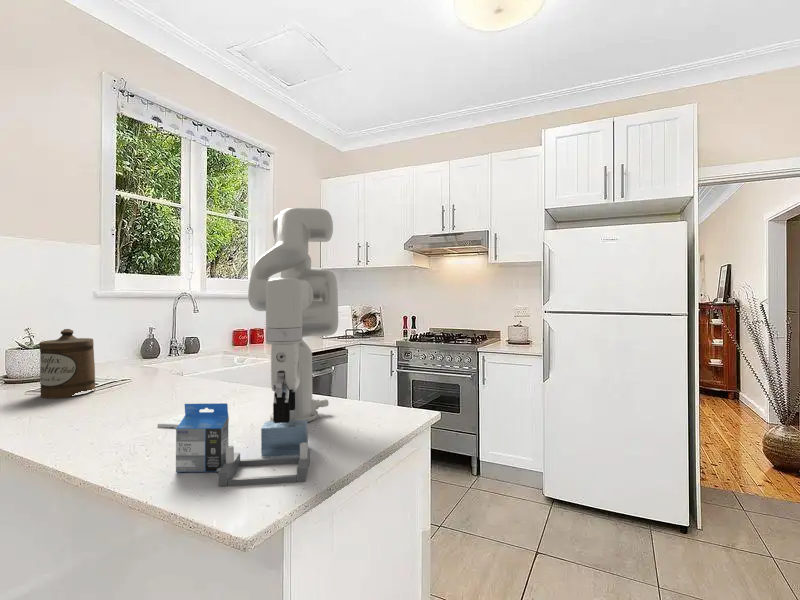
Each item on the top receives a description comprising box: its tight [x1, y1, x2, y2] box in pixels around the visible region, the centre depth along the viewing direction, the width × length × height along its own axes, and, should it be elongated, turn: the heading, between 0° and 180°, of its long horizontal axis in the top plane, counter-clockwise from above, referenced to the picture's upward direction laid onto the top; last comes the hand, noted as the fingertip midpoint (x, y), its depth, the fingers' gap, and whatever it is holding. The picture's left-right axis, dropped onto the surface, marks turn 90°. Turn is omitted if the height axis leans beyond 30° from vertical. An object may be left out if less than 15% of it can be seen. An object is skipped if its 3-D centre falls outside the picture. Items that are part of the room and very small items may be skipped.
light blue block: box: [260, 420, 309, 457], centre depth 93 cm, size 5×9×6 cm, turn 97°
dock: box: [217, 443, 311, 487], centre depth 82 cm, size 10×15×5 cm, turn 97°
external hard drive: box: [157, 410, 214, 429], centre depth 116 cm, size 2×8×12 cm
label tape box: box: [175, 402, 230, 473], centre depth 84 cm, size 9×4×12 cm, turn 90°
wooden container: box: [39, 328, 96, 399], centre depth 148 cm, size 15×15×22 cm
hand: (284, 415), depth 93 cm, fingers open, 9 cm apart
